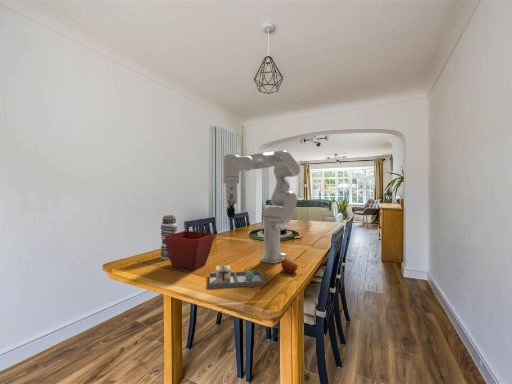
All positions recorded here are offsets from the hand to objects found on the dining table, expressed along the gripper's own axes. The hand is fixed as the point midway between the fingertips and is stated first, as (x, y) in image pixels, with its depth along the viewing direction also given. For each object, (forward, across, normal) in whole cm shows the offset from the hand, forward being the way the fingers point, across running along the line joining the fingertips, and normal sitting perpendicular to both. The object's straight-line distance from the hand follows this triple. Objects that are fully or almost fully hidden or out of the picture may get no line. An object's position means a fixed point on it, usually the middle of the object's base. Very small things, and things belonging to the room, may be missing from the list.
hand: (230, 215), depth 112 cm
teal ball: (+28, -9, -8) cm, 31 cm away
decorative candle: (+29, +32, +35) cm, 56 cm away
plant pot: (+29, +15, +20) cm, 38 cm away
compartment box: (+28, -9, -3) cm, 30 cm away
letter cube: (+28, -9, +3) cm, 30 cm away
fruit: (+29, +1, -30) cm, 42 cm away
